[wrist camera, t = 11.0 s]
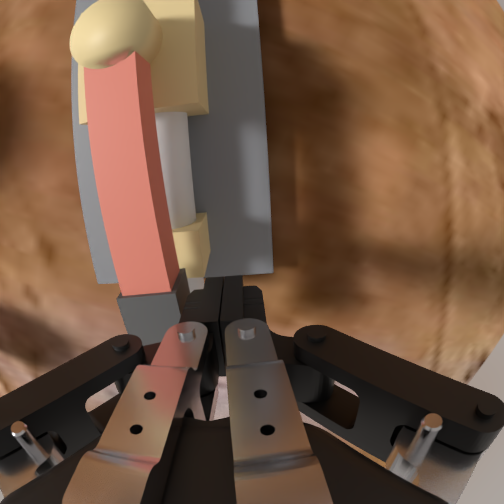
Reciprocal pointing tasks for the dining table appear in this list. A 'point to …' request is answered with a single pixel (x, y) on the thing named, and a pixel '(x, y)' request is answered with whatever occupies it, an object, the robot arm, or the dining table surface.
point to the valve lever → (130, 162)
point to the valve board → (198, 140)
